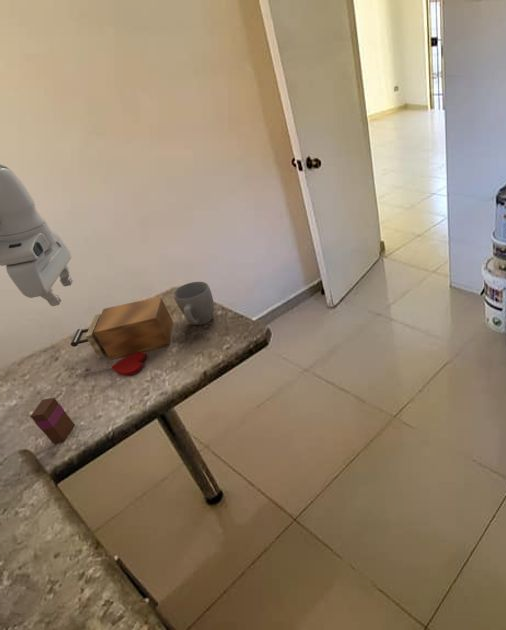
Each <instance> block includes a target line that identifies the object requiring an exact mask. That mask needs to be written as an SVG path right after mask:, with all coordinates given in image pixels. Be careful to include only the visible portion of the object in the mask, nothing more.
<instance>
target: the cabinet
mask: <svg viewBox="0 0 506 630" xmlns="http://www.w3.org/2000/svg"><path fill="white" fill-rule="evenodd" d="M100 314H101V316H100V318H99V321H98V323H97V326H96V328H95V330H94V334H95V335H96V337H97V339H98V340H99V342H100V343H101V345H102V347H103V348H104V350H105V352H106V355H107V357H108V358H109V360H115V359H119V358H124V357H127V356H129V355H131V354H133V353H137V352H143V353H144V352H147V351H151V350H155V349H158V348H163V347H168V346H170V344H171V338H172V331H173V325H174V321H173V319H172V316H171V315H170V313H169V310H168V309H167V306H166V305H165V302H164V300H163V298H162V296H156V297H151V298H147V299H142V300H138V301H137V300H136V301H134V302H128V303H125V304H120V305H115V306H110V307H105V308H103V309H102V311H101V313H100Z"/></svg>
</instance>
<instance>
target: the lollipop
mask: <svg viewBox="0 0 506 630" xmlns="http://www.w3.org/2000/svg"><path fill="white" fill-rule="evenodd" d="M146 359H147V354H146V353H145V352H144V351H143V352H137V353H133V354H131V355H127V356H124V357H122V358H121V359H120V360H118V361H117V362H115V363H114V364H113V365H112V366H110V367H106V368H105V367H104V368H100V369H96V370H91V371H86V372H81V373H76V374H75V375H74V376H75V377H79V376H83V375H89V374H92V373H97V372H98V373H99V372H101V371H107V370H112V371H113V372H115V373H116V374H118V375H119V376H120V375H121V376H131V375H135V374H137V373H138V372H140V371H141V370H142V368H143V366H144V364H143V362H144V361H145V360H146Z"/></svg>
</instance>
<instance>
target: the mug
mask: <svg viewBox="0 0 506 630" xmlns="http://www.w3.org/2000/svg"><path fill="white" fill-rule="evenodd" d="M173 299H174V302H175V303H176V305H177V306H178V309H179V310H180V311H181V313H182V314H183V315H184V317H185V320H187V322H188V323H189V324H190V325H195V326H202V324H203V325H205V323H206V324H208V323H210V322H211V321H212V320H213V319H214V311H215V303H214V297H213V293H212V291H211V288H210V286H209V284H208V283H207V282H205V281H192V282H188V283H186V284H182V285H181V286H179V287H178V288H176V289H175V290H174V292H173ZM212 318H213V319H212ZM211 319H212V320H211ZM210 320H211V321H210ZM209 321H210V322H209ZM207 322H208V323H207Z"/></svg>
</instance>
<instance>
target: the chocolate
mask: <svg viewBox="0 0 506 630" xmlns="http://www.w3.org/2000/svg"><path fill="white" fill-rule="evenodd" d="M30 418H31V419H32V420H33V422H34V423H35V425H36V426H37V427H38V428H39V429H40V430H41V431H42V432H43V434H45V436H46V437H47V438H48V440H49V441H50V442H51V443H52V444H58V443H63V442H66V440H67V438H68V437H69V436H70V433H71V432H72V430H73V428H75V425H76V424H75V423H74V421H73V420H72V419H71V417H70V416H69V414H68V413H66V411H65V409H64V407H62V405H61V403H59V402H58V400H57V399H56V398H55V397H50V398H44V399H41V401H39V404H37V406H36V407H35V409H34V411H33V412H32V413H31V414H30Z"/></svg>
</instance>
